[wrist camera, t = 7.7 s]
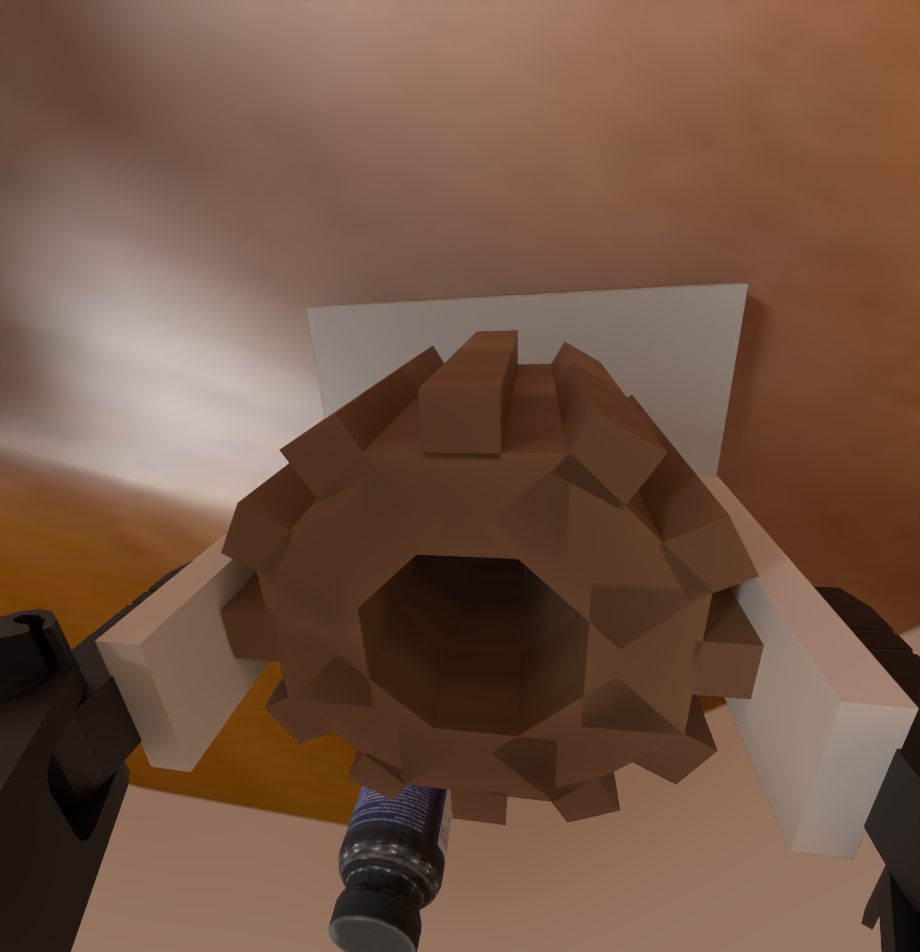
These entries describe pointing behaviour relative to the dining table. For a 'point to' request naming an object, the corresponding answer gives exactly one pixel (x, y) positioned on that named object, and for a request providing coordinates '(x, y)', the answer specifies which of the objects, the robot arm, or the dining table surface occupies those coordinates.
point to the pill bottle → (390, 868)
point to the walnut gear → (494, 585)
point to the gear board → (540, 338)
